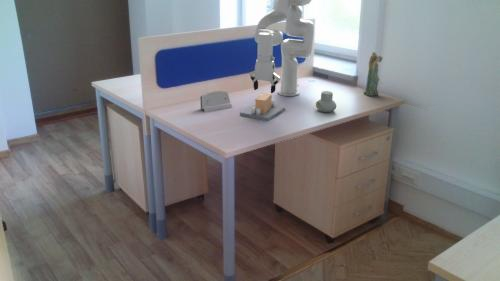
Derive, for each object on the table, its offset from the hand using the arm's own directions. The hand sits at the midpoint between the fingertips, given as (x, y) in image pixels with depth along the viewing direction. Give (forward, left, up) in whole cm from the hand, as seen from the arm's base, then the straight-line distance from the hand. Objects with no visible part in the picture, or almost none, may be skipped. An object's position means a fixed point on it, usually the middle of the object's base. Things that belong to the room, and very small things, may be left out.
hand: (264, 90), depth 245 cm
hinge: (+7, -25, -12) cm, 29 cm away
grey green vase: (-20, +27, -12) cm, 35 cm away
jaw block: (+1, 0, -10) cm, 10 cm away
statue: (-63, +39, -12) cm, 75 cm away
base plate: (+1, 0, -11) cm, 11 cm away
